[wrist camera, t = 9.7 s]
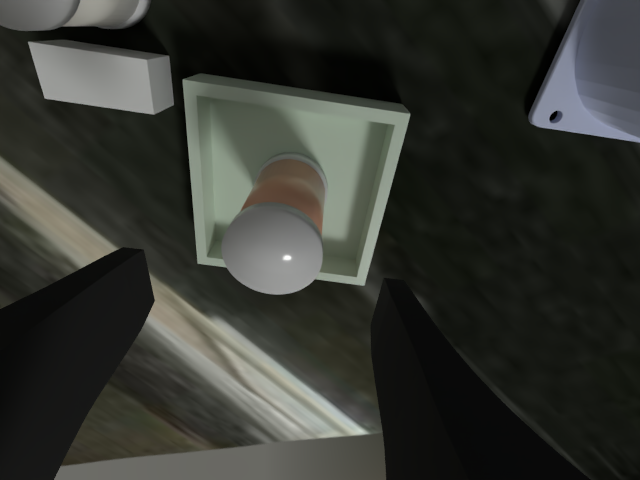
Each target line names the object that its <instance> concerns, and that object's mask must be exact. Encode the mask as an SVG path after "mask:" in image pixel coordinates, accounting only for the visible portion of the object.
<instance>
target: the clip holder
mask: <svg viewBox="0 0 640 480" xmlns="http://www.w3.org/2000/svg"><path fill="white" fill-rule="evenodd" d="M28 44H29V47H30V50H31V54H32V57H33V60H34V64H35V67H36V71H37V74H38V77H39V81H40V84H41V87H42V91H43V94H44V98H45V99H52V100H59V101H65V102H72V103H79V104H86V105H93V106H99V107H106V108H113V109H120V110H127V111H133V112H140V113H147V114H156V113H158V112H160V111H162V110H164V109H166V108H168V107H170V106H172V105H174V99H173V89H172V79H171V69H170V59H169V56H168V55H161V54H155V53H148V52H142V51H135V50H129V49H122V48H116V47H109V46H103V45H96V44H90V43H83V42H77V41H70V40H49V41H32V42H28Z"/></svg>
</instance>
